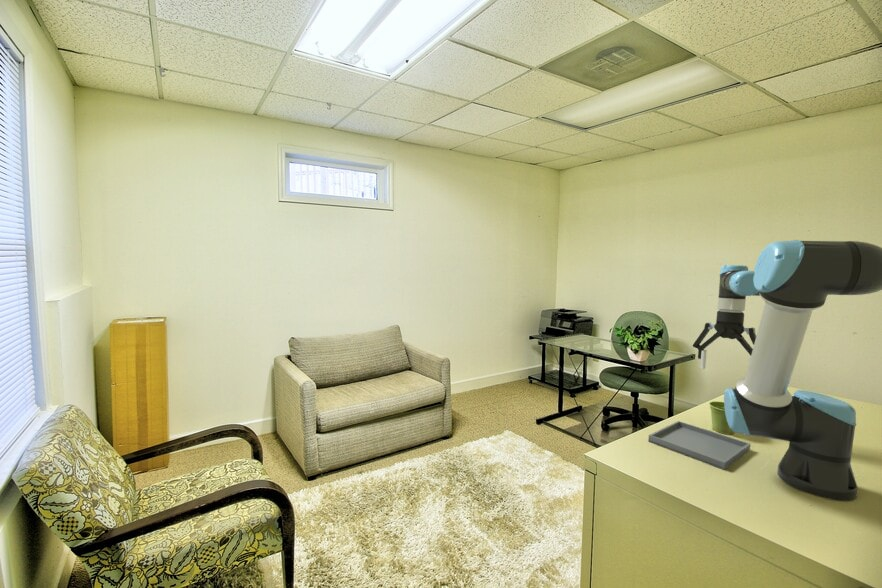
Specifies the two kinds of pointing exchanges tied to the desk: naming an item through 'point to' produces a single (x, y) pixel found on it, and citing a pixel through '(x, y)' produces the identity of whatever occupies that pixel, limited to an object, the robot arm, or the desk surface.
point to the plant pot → (719, 418)
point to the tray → (700, 444)
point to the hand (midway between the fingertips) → (725, 373)
